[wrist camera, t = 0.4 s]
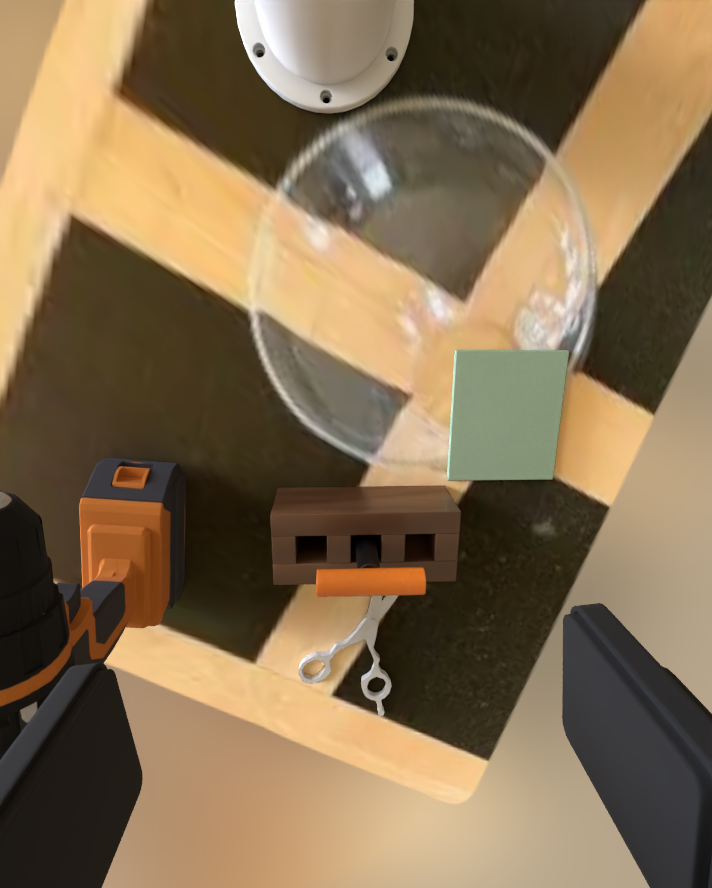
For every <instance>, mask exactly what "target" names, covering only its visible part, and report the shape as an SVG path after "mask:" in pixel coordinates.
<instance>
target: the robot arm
mask: <svg viewBox="0 0 712 888" xmlns="http://www.w3.org/2000/svg"><path fill="white" fill-rule="evenodd" d="M235 7H236V14H237V22H238V27H239V30H240V34H241V37H242V40H243V43H244V46H245V48H246V51H247V53H248V56H249V58H250V60H251V62H252V63H253V65H254V67H255V69H256V70H257V72H258V74H259V75H260V76H261V78H262V79H263V80H264V81H265V82H266V83H267V85H268V86H269V87H270V88H271V89H272V90H273V91H274V92H276V93H277V94H278V95H279V96H280V97H282V98H283V99H284V100H286V101H288V102H290V103H291V104H293V105H295V106H297V107H299V108H302V109H305V110H309V111H312V112H317V113H330V114H331V113H338V112H345V111H348V110H351V109H354V108H356V107H359V106H361V105H363V104H365V103H366V102H368V101H369V100H371V99H372V98H374V97H375V96H376V95H377V94H378V93H379V92H380V91H381V90H382V89H383V88H385V87H386V86H387V84H388V83H389V82H390V80H391V79H392V77H393V76H394V74H395V73H396V72H397V70H398V68H399V66H400V64H401V61H402V59H403V57H404V55H405V52H406V49H407V46H408V43H409V40H410V35H411V29H412V24H413V16H414V0H235ZM259 53H263V54H264V56H263V57H260V58H259V57H257V55H258V54H259ZM389 56H391V57H393V59H394V61H389V60H388V59H387V58H388V57H389ZM324 98H328V99H329V100H330V102H329V103H327V104H326V103H324V102H323V99H324ZM562 718H563V725H564V730H565V733H566V736H567V738H568V740H569V742H570V744H571V746H572V748H573V749H574V751H575V753H576V755H577V756H578V758H579V760H580V762H581V764H582V766H583V767H584V769H585V771H586V773H587V775H588V776H589V778H590V780H591V782H592V784H593V785H594V787H595V789H596V791H597V792H598V794H599V796H600V798H601V800H602V802H603V803H604V805H605V807H606V809H607V811H608V813H609V814H610V816H611V818H612V820H613V822H614V823H615V825H616V827H617V829H618V831H619V832H620V834H621V836H622V838H623V840H624V841H625V843H626V845H627V847H628V849H629V850H630V852H631V854H632V856H633V858H634V859H635V861H636V863H637V865H638V867H639V868H640V870H641V872H642V874H643V876H644V878H645V879H646V881H647V883H648V885H649V887H650V888H712V714H711V713H710V712H709V711H708V710H707V708H705V706H704V705H703V704H702V703H701V702H700V701H699V700H698V699H697V698H696V697H695V696H694V695H693V694H692V693H691V692H690V691H689V690H688V688H687V687H686V686H685V685H684V684H683V683H682V682H681V681H680V680H679V679H678V678H677V677H676V676H675V675H674V674H673V673H672V672H671V671H670V670H668V669H667V668H664V667H662V666H661V665H660V664H659V663H658V662H657V661H656V660H655V659H654V658H653V657H652V655H651V654H650V653H649V652H648V651H647V650H646V649H645V648H644V647H643V646H642V645H641V644H640V643H639V642H638V641H637V640H636V638H635V637H634V636H633V635H632V634H631V633H630V632H629V631H628V630H627V629H626V628H625V627H624V626H623V625H622V623H621V622H620V621H619V620H618V619H617V618H616V617H615V616H614V615H613V614H612V613H611V612H610V611H609V610H608V609H607V607H605V606H604V605H603V604H600V603H598V604H589V605H581V606H574V607H573V608H572V609H571V613H570V614H568V615H565V616H564V619H563V715H562ZM141 786H142V770H141V766H140V762H139V758H138V755H137V751H136V747H135V744H134V740H133V737H132V733H131V729H130V726H129V722H128V719H127V715H126V711H125V708H124V704H123V700H122V697H121V693H120V689H119V686H118V682H117V678H116V675H115V673H114V671H113V670H111V669H107V667H106V666H105V665H104V664H103V663H93V664H85V665H77V666H72V667H70V668H69V669H68V670H67V671H66V673H65V674H64V675H63V677H62V678H61V679H60V681H59V682H58V683H57V685H56V686H55V687H54V689H53V690H52V691H51V693H50V694H49V695H48V697H47V698H46V699H45V701H44V702H43V703H42V705H41V706H40V707H39V709H38V710H37V711H36V713H35V714H34V716H33V717H32V718H31V720H30V721H29V722H28V724H27V725H26V726H25V728H24V729H23V730H22V732H21V733H20V734H19V736H18V737H17V738H16V740H15V741H14V742H13V744H12V745H11V746H10V748H9V749H8V750H7V752H6V753H5V754H4V756H3V757H2V758H1V760H0V888H101V887H102V885H103V883H104V880H105V878H106V875H107V873H108V870H109V868H110V865H111V863H112V860H113V858H114V856H115V853H116V851H117V848H118V846H119V843H120V841H121V838H122V836H123V833H124V831H125V828H126V826H127V823H128V821H129V818H130V816H131V813H132V811H133V809H134V806H135V804H136V801H137V798H138V796H139V793H140V790H141Z"/></svg>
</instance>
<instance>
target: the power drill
mask: <svg viewBox="0 0 712 888" xmlns="http://www.w3.org/2000/svg"><path fill="white" fill-rule="evenodd" d="M79 511H80V536H81V561H82V586H83V588H82V589H81V590H80V585H79V584H75V583H57V584H55V583H53V573H52V563H51V559H50V558H49V557H48V556H47V552H46V547H45V540H44V533H43V527H42V520H41V517H40V516H39V515H38V514H37V513H36V512H35V511H34V510H32V509H31V508H30V507H29V506H28V505H27V504H25V503H24V502H23V501H22V500H21V499H20V498H18V497H17V496H16V495H14V494H10V493H6V492H2V491H0V760H1V758H2V757H3V756H4V754H5V753H6V752H7V750H8V749H9V748H10V746H11V745H12V744H13V742H14V741H15V740H16V738H17V737H18V736H19V734H20V733H21V732H22V730H23V729H24V728H25V726H26V725H27V724H28V722H29V721H30V720H31V718H32V717H33V716H34V714H35V713H36V711H37V710H38V709H39V707H40V706H41V705H42V703H43V702H44V701H45V699H46V698H47V697H48V695H49V694H50V693H51V691H52V690H53V689H54V687H55V686H56V685H57V683H58V682H59V681H60V679H61V678H62V677H63V675H64V674H65V673H66V671H67V670H68V669H69V668H70V667H72V666H77V665H85V664H93V663H104V662H105V660H106V659H107V657H108V656H109V654H110V653H111V652H112V650H113V648H114V647H115V645H116V643H117V641H118V640H119V638H120V636H121V635H122V633H123V631H124V629H125V627H130V628H145V627H147V626H156V625H158V624H159V623H160V622H161V620H162V618H163V614H164V612H165V610H166V608H167V609H172V607H173V605H174V603H176V602H177V601H178V599H179V597H180V595H181V593H182V591H183V588H184V575H185V525H186V475H185V474H184V473H181V469H180V465H179V464H178V463H169V462H156V461H143V460H130V459H117V458H104V459H102V460H101V461H99V462H98V463H97V464H96V467H95V469H94V471H93V473H92V475H91V478H90V480H89V482H88V484H87V487H86V489H85V491H84V493H83V495H82V498H81V500H80V505H79Z"/></svg>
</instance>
